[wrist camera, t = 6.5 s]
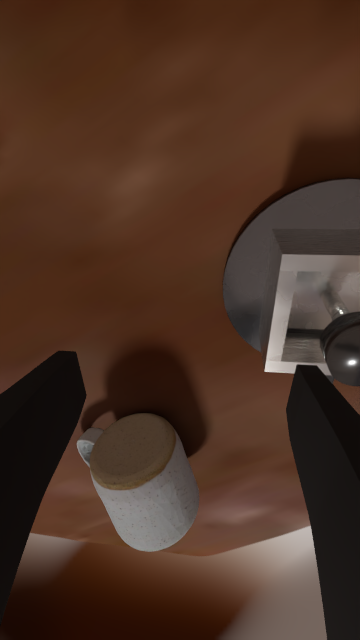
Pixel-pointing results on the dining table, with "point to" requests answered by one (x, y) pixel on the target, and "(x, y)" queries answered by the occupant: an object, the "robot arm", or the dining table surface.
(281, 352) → the press
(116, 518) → the ceramic mug
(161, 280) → the dining table surface
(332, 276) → the plunger
